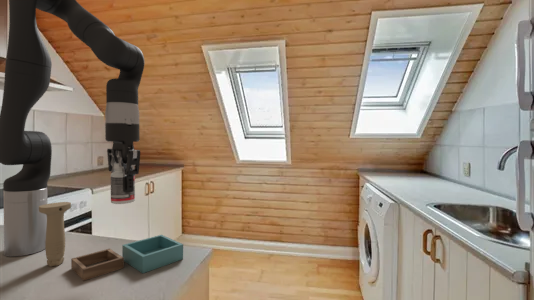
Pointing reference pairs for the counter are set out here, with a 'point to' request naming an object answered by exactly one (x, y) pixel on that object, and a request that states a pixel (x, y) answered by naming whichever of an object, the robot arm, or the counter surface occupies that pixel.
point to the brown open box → (96, 270)
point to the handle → (55, 231)
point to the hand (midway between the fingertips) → (123, 190)
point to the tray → (152, 253)
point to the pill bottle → (120, 188)
